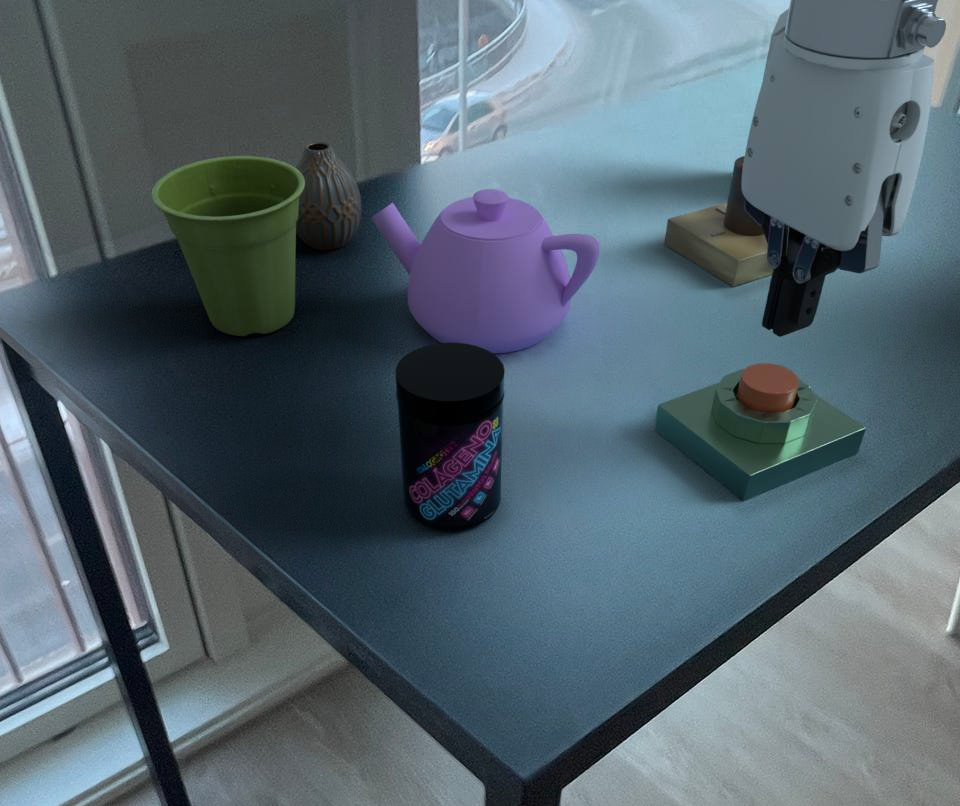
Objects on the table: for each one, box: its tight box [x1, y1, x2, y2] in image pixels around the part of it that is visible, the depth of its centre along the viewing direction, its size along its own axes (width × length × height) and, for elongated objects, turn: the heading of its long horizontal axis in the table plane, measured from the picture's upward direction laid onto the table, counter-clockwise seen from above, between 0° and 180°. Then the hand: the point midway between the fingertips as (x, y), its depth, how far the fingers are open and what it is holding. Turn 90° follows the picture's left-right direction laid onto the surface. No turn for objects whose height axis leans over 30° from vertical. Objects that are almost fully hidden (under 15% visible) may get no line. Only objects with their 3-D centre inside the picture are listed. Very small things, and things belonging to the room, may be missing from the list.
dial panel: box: [663, 202, 823, 288], centre depth 95 cm, size 11×10×3 cm
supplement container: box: [394, 342, 506, 533], centre depth 65 cm, size 7×7×10 cm
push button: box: [737, 362, 800, 413], centre depth 71 cm, size 4×4×2 cm
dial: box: [724, 155, 764, 235], centre depth 92 cm, size 4×4×6 cm
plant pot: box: [150, 155, 305, 337], centre depth 83 cm, size 12×12×11 cm
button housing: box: [654, 368, 867, 502], centre depth 73 cm, size 11×10×4 cm
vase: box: [294, 140, 362, 251], centre depth 94 cm, size 7×7×9 cm
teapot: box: [370, 188, 601, 354], centre depth 83 cm, size 14×20×11 cm
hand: (786, 326), depth 68 cm, fingers closed
